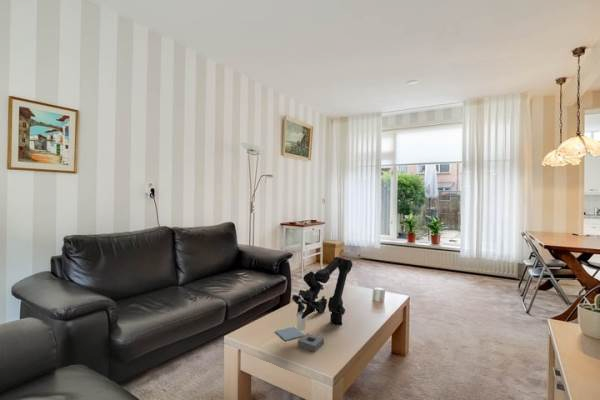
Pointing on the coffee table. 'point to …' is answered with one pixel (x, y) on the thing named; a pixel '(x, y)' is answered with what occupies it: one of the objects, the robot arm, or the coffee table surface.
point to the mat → (289, 333)
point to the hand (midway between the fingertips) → (299, 317)
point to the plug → (300, 321)
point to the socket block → (310, 342)
